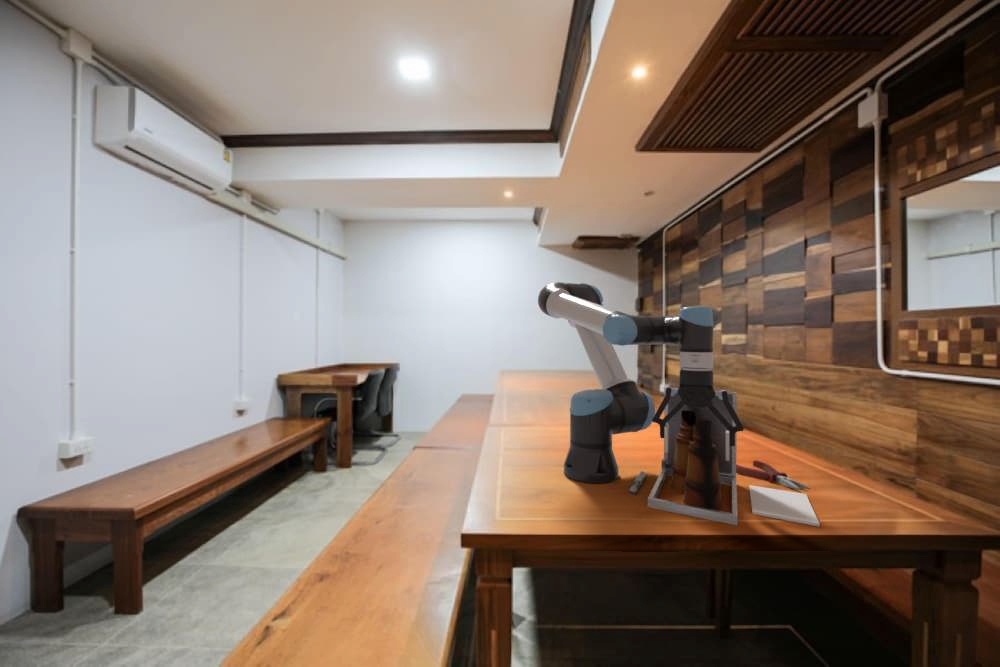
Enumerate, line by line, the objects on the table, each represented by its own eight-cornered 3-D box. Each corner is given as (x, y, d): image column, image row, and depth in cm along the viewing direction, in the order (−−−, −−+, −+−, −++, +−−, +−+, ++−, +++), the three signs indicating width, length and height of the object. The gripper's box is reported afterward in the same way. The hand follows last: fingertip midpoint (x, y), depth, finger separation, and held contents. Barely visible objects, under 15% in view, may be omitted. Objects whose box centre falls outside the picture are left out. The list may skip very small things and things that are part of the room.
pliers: (787, 496, 103) (788, 485, 103) (725, 470, 123) (725, 461, 123) (823, 492, 106) (823, 482, 106) (756, 467, 126) (756, 458, 126)
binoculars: (666, 481, 112) (667, 407, 112) (698, 482, 111) (699, 408, 111) (690, 510, 94) (691, 423, 94) (728, 512, 93) (729, 424, 93)
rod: (629, 495, 103) (628, 488, 103) (640, 477, 116) (639, 471, 116) (636, 495, 103) (635, 488, 103) (646, 478, 115) (645, 471, 115)
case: (646, 506, 96) (647, 401, 95) (663, 472, 119) (663, 387, 119) (737, 525, 87) (738, 409, 87) (736, 483, 110) (737, 392, 110)
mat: (752, 513, 92) (752, 511, 92) (749, 487, 108) (749, 485, 108) (819, 526, 86) (819, 523, 86) (805, 496, 102) (806, 494, 102)
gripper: (640, 368, 105) (640, 451, 105) (756, 372, 93) (756, 467, 93) (646, 366, 112) (646, 444, 112) (754, 370, 99) (754, 458, 99)
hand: (696, 455), depth 102 cm, fingers open, 13 cm apart
